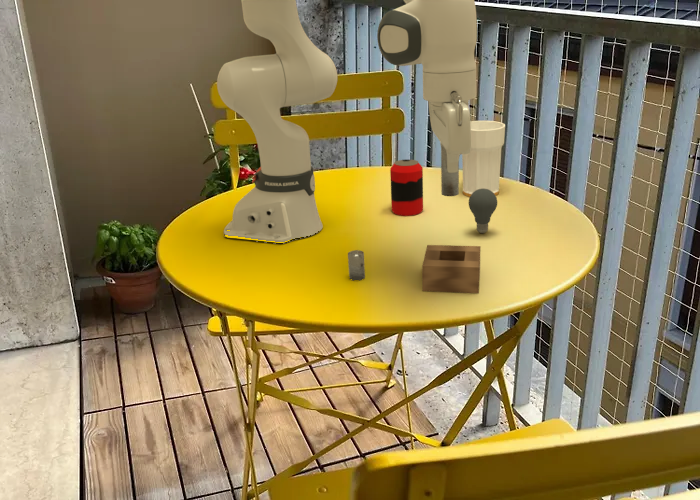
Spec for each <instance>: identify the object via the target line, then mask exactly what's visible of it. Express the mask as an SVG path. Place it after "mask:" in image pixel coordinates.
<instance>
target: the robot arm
mask: <svg viewBox="0 0 700 500" xmlns="http://www.w3.org/2000/svg"><path fill="white" fill-rule="evenodd" d="M240 1H241V9H242V15H243V21H244V24H245V25H246V28H247V29H248V30H249V31H250V32H252V33H253V34H255V35H257V36H259V37H262V38H264V39H266V40H269V41H270V42H271V43H272V45H273V46H274V48H275V52H276V53H274V54H263V55H262V54H261V55H252V56H244V57H241V58H237V59H233V60H231V61H229V62H225V63H224V64H223V65H222V66H221V68H220V70H219V72H218V75H217V79H216V87H217V92H218V95H219V96H220V99H221V101H222V102H223V103H224V105H225V106H227V108H229V109H230V110H232V111H234V112H236V113H237V114H238V115H239V116H241V118H243V119H244V120H245V122H246V123H248V125H249V126H250V128H251V129H252V130H251V131H252V132H253V133H254V136H255V140H256V143H257V150H258V154H259V160H260V167H258V169H257V170H256V172H255V173H254V174H253V176H252V177H251V180H252V181H251V183H252V184H253V183H254V187H253V188H252V189H251V190H250V191H248V193H246V194H245V195H244V196H243V197H242V198H240V200H239V201H238V202H237V203H236V204H235V206H234V208H233V212H232V220H231V221H230V222H229V223H228V224H227V225H226V226H225V227H224V230H223V235H224V234H225V235H228V236H238V237H245V238H251V239H258V240H266V241H275V242H285V241H288V240H291V239H295V238H300V237H304V238H307V237H306V236H308V237H310V235H311V236H313V235H315V233H316V234H318V233H319V232H320V231H322V229H323V227H324V226H323V223H322V221H321V217H320V215H319V212H318V207H317V203H316V199H315V191H316V181H315V174H314V167H313V166H312V161H311V148H310V147H311V146H310V138H309V137H310V136H309V135H308V133H307V131H306V130H305V128H303V127H302V126H300V125H298V124H296V123H294V122H291V121H288V120H285V119H283V118H282V115H281V111H280V110H281V108H285V107H293V106H302V105H309V104H314V103H316V102H320V101H323V100H325V99H327V98H328V99H329V98H330V97H331V96H332V95H333V93H334V92H335V89H336V87H337V83H338V70H337V67H336V65H335V62H334V61H333V59H331V57H330V56H329V55H328V54H327V53H326V52H324V51H323V50H321V49H319V48H318V46H316V44H314V43H313V42H312V40H311V39H310V38H309V36H308V35H307V33H306V32H305V29H304V27H303V26H302V24H301V23H302V22H301V20H300V17H299V11H298V6H297V1H296V0H240ZM403 2H404V3H405V4H404V5H401V6H399V7H397V8H395V9H392V10H389V11H387V12H386V13H385V14H384V15H383V16H382V18H381V20H380V22H379V25H378V28H377V36H376V38H377V39H376V40H377V45H378V49H379V51H380V53H381V55H382V57H383V58H384V59H385V60H386V62H388V63H390V64H391V65H393V66H394V65H395V66H401V67H407V66H414V65H422V95H423V96H422V98H423V100H425V101H427V102H428V111H429V113H428V114H429V120H430V121H429V122H430V127H431V130H432V133H433V134H434V135H435V137H436V138H437V139H438V141H439V142H440V143H439V144H440V146H441V144H442V145H443V146H444V148H445V149H446V153H447V161H446V169H447V171H448V172H449V173H454V172H457V171H458V161H460V156H462V154H469V153H470V150H471V123H470V121H471V113H470V112H471V111H470V108H469V107H470V106H469V105H470V103H469V101H470V100H473V99H475V98H477V62H476V60H475V48H476V45H477V40H478V39H477V37H478V36H477V35H478V33H477V32H478V27H477V25H478V24H477V23H478V22H477V20H478V19H477V9H476V8H477V7H476V2H475V0H403ZM458 125H459V126H458ZM227 230H230V231H227ZM318 231H319V232H318ZM300 239H301V238H300ZM295 240H296V239H295Z"/></svg>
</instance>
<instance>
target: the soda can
mask: <svg viewBox="0 0 700 500" xmlns="http://www.w3.org/2000/svg"><path fill="white" fill-rule="evenodd" d="M423 170H424V169H423V166H422V165H421V164H420V163H419V161H418V160H416V159H400V160H396V161H394V163H393V164H392V165H391V167H390V170H389V171H390V172H389V173H390V197H391V199H390V200H391V201H390V202H391V203H390V204H391V205H390V206H391V212H392V213H393V214H394V215H396V216H403V217H411V216H416V215H420V214H421V213H422V212H423V211H424V178H423V177H424V173H423V172H424V171H423Z"/></svg>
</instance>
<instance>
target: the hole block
mask: <svg viewBox="0 0 700 500" xmlns="http://www.w3.org/2000/svg"><path fill="white" fill-rule="evenodd" d="M481 247H482V246H480V245H447V244H446V245H445V244H444V245H443V244H437V245H436V244H427V245H426V250H425V254H424V258H423V261H422V265H421V268H422V269H421V273H422V278H421V279H422V280H421V281H422V283H421V285H422V292H434V293H435V292H439V293H463V294H466V293H470V294H479V292H480V291H479V290H480V280H481V279H480V278H481Z"/></svg>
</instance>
